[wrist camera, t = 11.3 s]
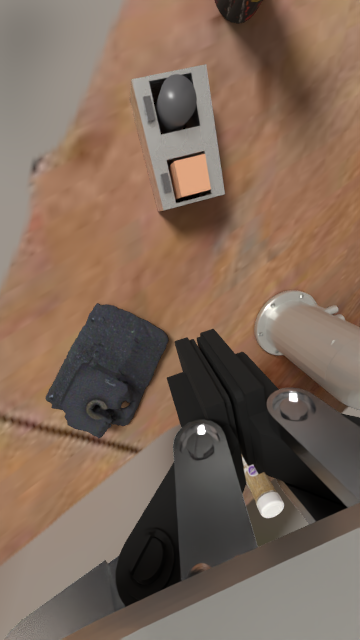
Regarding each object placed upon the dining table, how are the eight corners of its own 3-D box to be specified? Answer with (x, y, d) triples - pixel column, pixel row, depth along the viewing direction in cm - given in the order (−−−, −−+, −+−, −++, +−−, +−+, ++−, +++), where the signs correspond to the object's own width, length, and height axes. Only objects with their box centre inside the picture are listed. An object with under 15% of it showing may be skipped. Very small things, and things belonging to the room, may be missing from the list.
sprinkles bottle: (243, 437, 56) (278, 498, 43) (253, 446, 58) (289, 508, 45) (227, 449, 56) (257, 513, 44) (237, 458, 58) (269, 522, 46)
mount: (193, 87, 31) (207, 61, 25) (211, 197, 36) (226, 193, 31) (129, 100, 30) (131, 76, 25) (157, 211, 35) (164, 210, 30)
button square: (193, 162, 32) (205, 153, 28) (198, 193, 34) (210, 189, 29) (166, 169, 32) (174, 161, 27) (173, 199, 33) (181, 196, 29)
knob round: (181, 93, 29) (192, 70, 25) (188, 132, 31) (199, 117, 26) (149, 100, 29) (155, 78, 24) (158, 139, 30) (165, 125, 26)
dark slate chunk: (181, 333, 43) (188, 345, 39) (123, 428, 48) (123, 448, 44) (96, 293, 38) (93, 303, 33) (40, 405, 42) (31, 426, 38)
